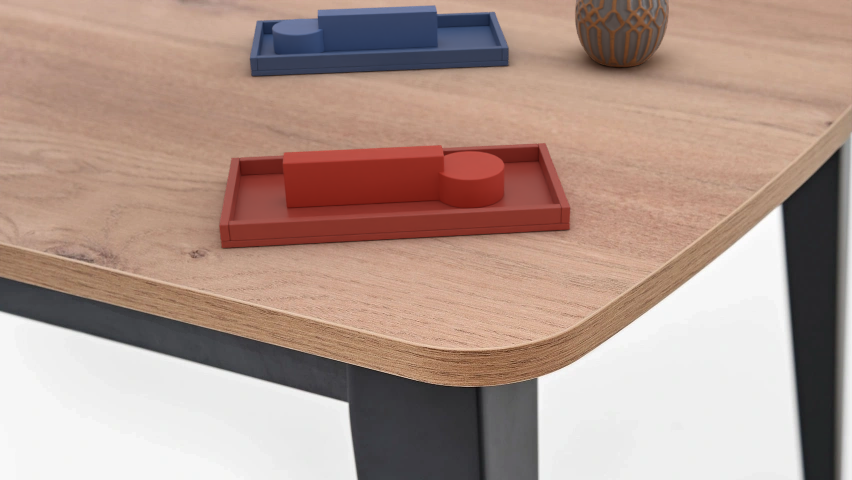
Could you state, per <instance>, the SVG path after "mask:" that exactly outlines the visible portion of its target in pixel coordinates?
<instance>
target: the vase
mask: <svg viewBox="0 0 852 480" xmlns="http://www.w3.org/2000/svg"><path fill="white" fill-rule="evenodd" d="M669 3H670V2H669V0H575V8H574V22H575V29H576V34H577V38H578V40H579V43H580V45H581V47H582V48H583V50H584V52H585V53H587V55H588V57H590V58H591V59H592V60H593V61H594V62H595V63H597V64H600V65H602V66H607V67H612V68H613V67H614V68H630V67H636V66H639V65H642V64H644V63H645V62H647V60H649V59H650V58H651V57H652V56H653V55H654V54H655V53H656V52H657V50H658V49H659V48H660V46H661V44H662V42H663V40H664V38H665V35H666V32H667V28H668V23H669V16H670V15H669V14H670V5H669Z"/></svg>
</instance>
